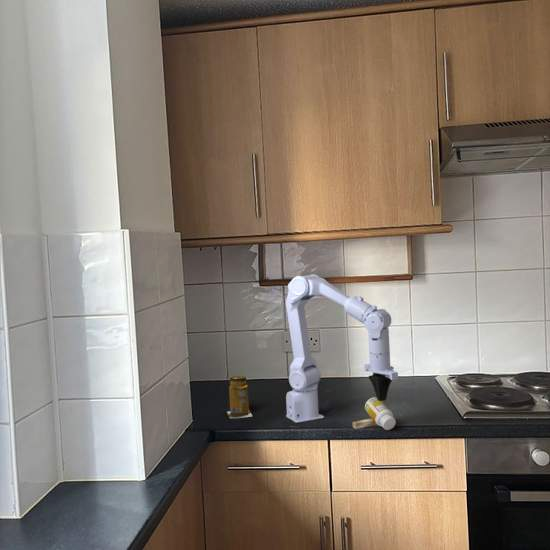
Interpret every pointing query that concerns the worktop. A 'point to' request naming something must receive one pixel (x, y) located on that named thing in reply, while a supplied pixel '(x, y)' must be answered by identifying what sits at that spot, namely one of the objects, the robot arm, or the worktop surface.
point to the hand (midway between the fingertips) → (381, 400)
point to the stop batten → (364, 423)
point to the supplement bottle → (380, 413)
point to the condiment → (238, 398)
